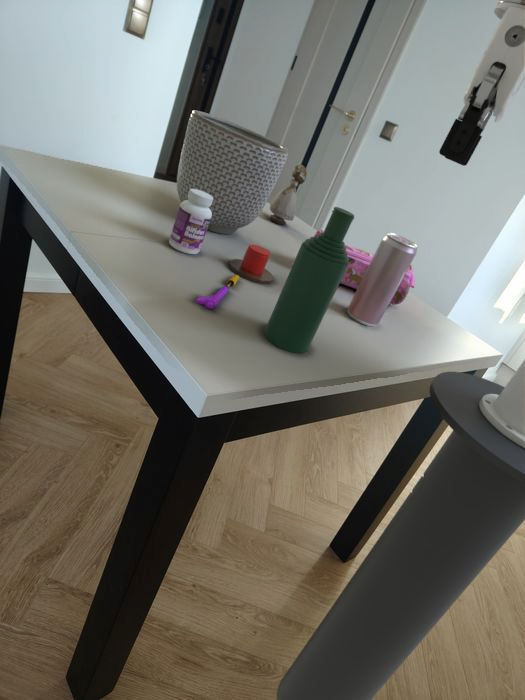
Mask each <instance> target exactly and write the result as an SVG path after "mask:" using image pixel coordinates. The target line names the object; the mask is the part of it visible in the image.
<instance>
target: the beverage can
mask: <svg viewBox="0 0 525 700" xmlns="http://www.w3.org/2000/svg"><path fill="white" fill-rule="evenodd" d="M418 249H419V246H418V244H416V243H415V242H414V241H412V240H410V239H408V238H406V237H404V236H402V235H400V234H397V233H394V232H390V231H387V232H386V233H385V235H384V236H383V237H382V238H381V240H380V242H379V244H378V247H377V249H376V251H375V252H374V253H373V254H374V256H373V258H372V260H371V262H370V264H369V266H368V268H367V270H366V272H365V274H364V276H363V278H362V280H361V282H360V284H359V286H358V288H357V289H355V290H356V291H355V292H354V295H353V296H352V299H351V300H350V302H349V305H348V306H347V313H348V316H349V317H350V318H351V319H353V320H354V321H356V322H358V323H360V324H362V325H365V326H367V327H376V326H377V325H378V324H379V323H380V322H381V320H382V318H383V316H384V315H385V312H386V310H387V309H388V307H389V305H390V304H391V303H390V301H391V300H392V298H393V296H394V294H395V292H396V290H397V288H398V287H399V285H400V283H401V281H402V279H403V277H404V275H405V274H406V272H407V270H408V268H409V266H410V265H412V262H413V261H414V259H415V257H416V255H417V252H418Z"/></svg>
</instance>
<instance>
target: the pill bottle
mask: <svg viewBox="0 0 525 700" xmlns="http://www.w3.org/2000/svg"><path fill="white" fill-rule="evenodd" d="M212 201H213V197H212V196H211V195H209V194H207V193H205V192H203V191H200V190H197V189H190V191H189V193H188V200H185V201H183V202H180V204H179V207H178V211H177V214H176V217H175V220H174V223H173V226H172V230H171V233H170V236H169V239H168V242H169V245H170V246H171V247H172V248H173V249H175V250H176V251H179V252H181V253H185V254H188V255H197V254H199V253H200V252H201V248H202V246H203V243H204V240H205V237H206V235H207V232H208V230H207V229H208V226H209V223H210V220H211V217H212V212H211V210H210V209H209V207H210V206H211V205H212Z"/></svg>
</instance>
